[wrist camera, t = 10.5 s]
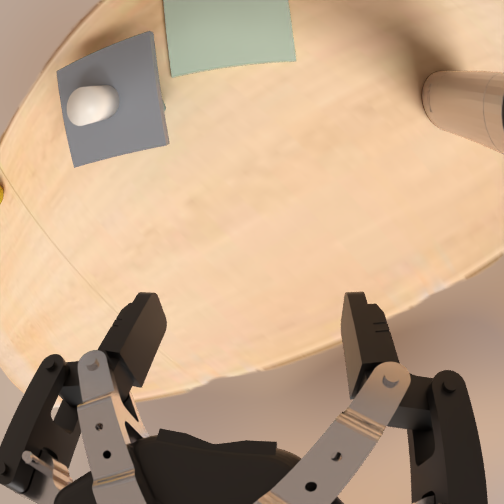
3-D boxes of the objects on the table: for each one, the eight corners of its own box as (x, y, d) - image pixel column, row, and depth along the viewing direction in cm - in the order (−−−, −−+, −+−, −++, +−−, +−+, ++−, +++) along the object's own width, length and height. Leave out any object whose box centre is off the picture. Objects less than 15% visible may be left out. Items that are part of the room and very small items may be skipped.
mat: (281, -38, 22) (281, -39, 21) (295, 61, 30) (296, 60, 29) (163, -18, 24) (161, -19, 23) (173, 77, 32) (171, 77, 31)
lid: (153, 32, 21) (129, 23, 17) (169, 143, 28) (149, 154, 23) (61, 70, 23) (32, 73, 19) (78, 165, 30) (52, 179, 25)
